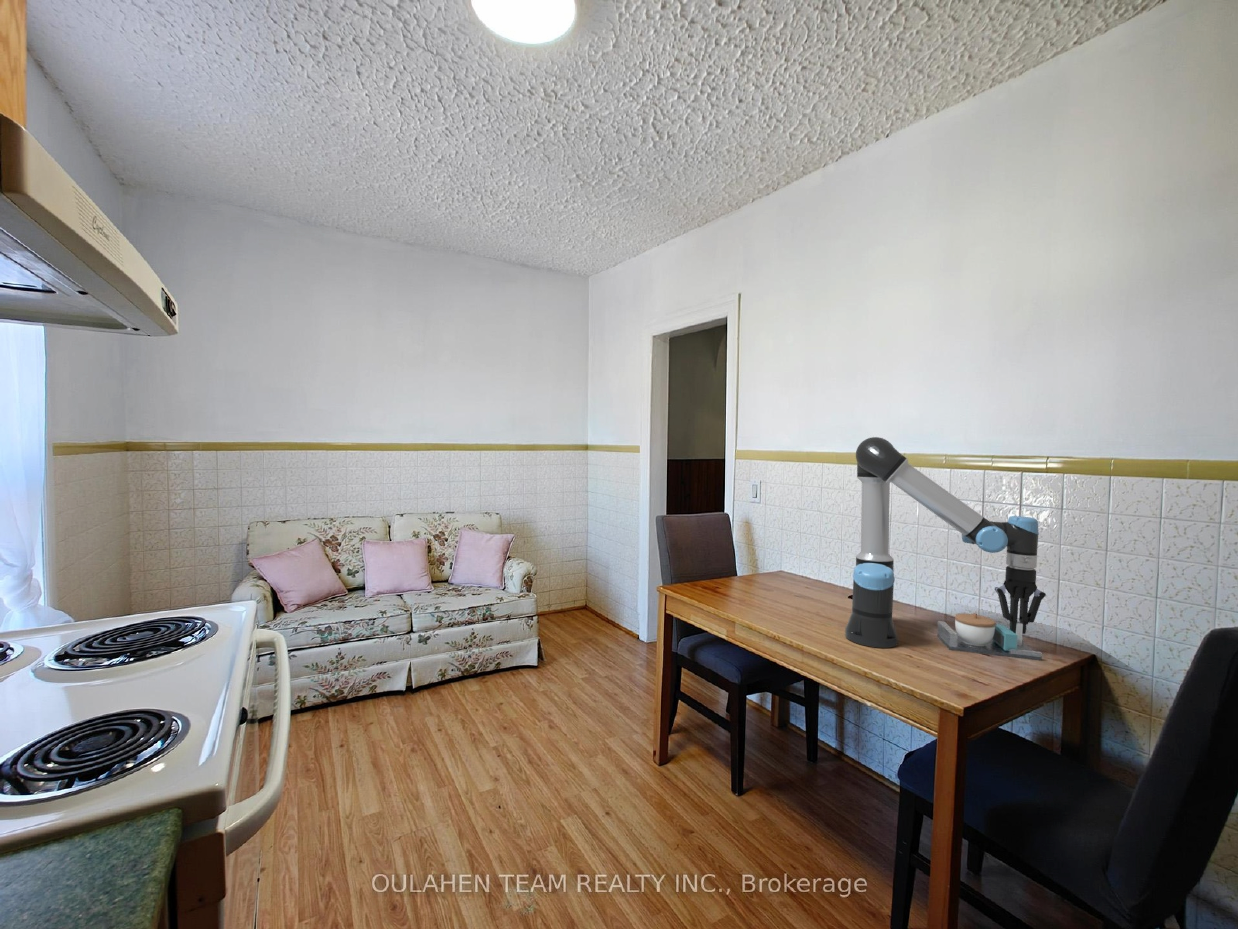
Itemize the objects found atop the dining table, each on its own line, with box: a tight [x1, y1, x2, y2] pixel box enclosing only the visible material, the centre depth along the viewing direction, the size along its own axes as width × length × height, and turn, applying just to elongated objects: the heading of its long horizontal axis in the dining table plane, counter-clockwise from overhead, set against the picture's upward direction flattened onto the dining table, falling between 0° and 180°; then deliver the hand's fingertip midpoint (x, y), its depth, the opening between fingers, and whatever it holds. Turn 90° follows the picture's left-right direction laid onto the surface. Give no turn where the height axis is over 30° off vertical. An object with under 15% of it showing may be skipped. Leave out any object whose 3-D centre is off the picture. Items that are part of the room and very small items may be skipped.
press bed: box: [936, 620, 1043, 661], centre depth 169 cm, size 24×13×5 cm, turn 74°
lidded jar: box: [954, 612, 997, 646], centre depth 169 cm, size 11×11×9 cm
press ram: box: [992, 623, 1017, 651], centre depth 167 cm, size 4×10×5 cm, turn 164°
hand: (1017, 643), depth 166 cm, fingers closed
